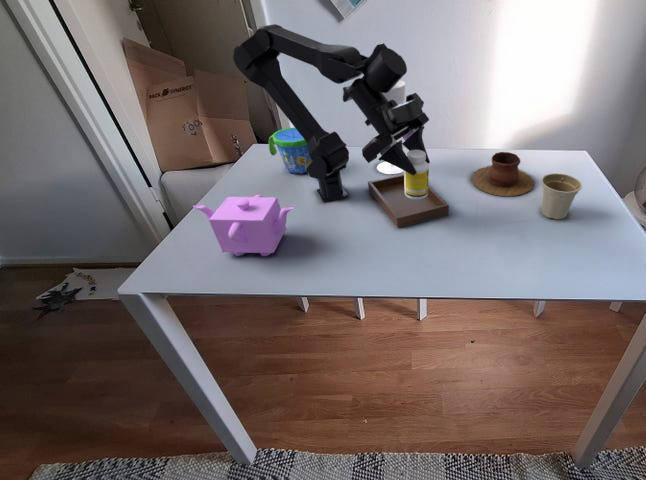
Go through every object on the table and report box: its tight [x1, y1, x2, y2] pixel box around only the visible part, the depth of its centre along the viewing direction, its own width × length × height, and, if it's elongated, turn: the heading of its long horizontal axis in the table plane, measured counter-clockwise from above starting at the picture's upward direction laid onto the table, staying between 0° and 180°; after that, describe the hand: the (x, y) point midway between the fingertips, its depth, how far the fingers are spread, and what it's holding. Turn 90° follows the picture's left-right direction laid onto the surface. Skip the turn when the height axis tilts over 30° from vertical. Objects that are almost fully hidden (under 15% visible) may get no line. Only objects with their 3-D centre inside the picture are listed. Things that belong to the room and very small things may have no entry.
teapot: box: [192, 194, 296, 257], centre depth 81 cm, size 15×13×11 cm
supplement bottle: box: [403, 150, 430, 199], centre depth 86 cm, size 5×5×10 cm
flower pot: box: [541, 172, 583, 220], centre depth 95 cm, size 9×9×9 cm
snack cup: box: [268, 126, 312, 175], centre depth 109 cm, size 16×10×10 cm
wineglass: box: [376, 79, 406, 175], centre depth 107 cm, size 9×10×23 cm
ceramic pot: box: [470, 151, 535, 197], centre depth 108 cm, size 18×18×7 cm
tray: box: [367, 173, 450, 229], centre depth 99 cm, size 20×14×3 cm
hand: (421, 169), depth 84 cm, fingers closed on supplement bottle, 5 cm apart
